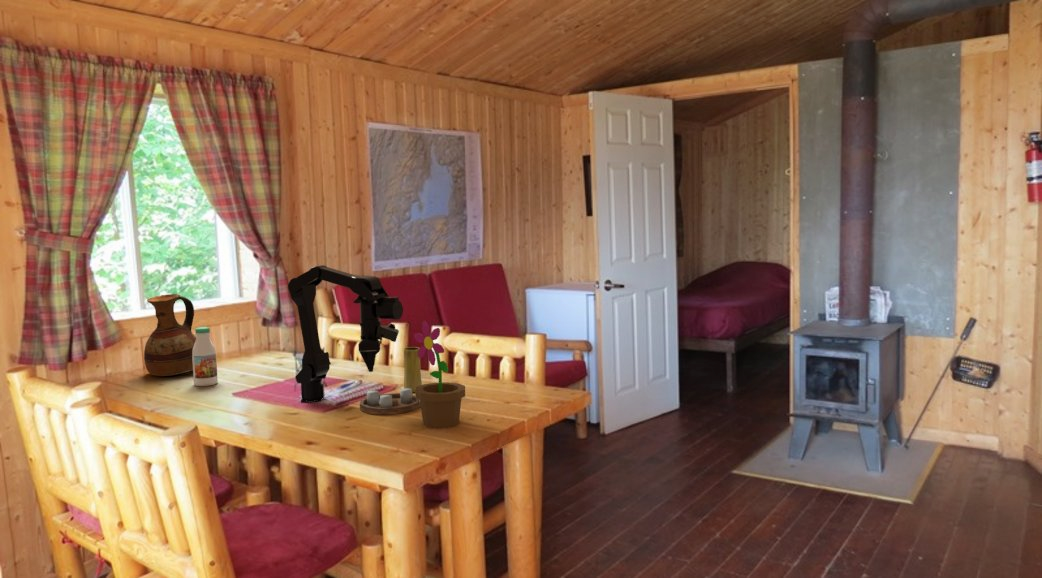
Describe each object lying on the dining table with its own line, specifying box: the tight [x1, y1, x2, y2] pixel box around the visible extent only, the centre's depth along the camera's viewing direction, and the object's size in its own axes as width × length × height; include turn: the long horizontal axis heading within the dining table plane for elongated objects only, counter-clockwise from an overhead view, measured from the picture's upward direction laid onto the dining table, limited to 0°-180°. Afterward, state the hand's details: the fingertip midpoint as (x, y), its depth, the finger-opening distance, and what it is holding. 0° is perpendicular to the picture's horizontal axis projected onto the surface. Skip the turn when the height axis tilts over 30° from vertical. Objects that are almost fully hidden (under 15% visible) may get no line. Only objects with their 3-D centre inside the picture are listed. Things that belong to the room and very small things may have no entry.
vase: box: [403, 346, 423, 394], centre depth 256 cm, size 6×6×14 cm
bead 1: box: [366, 390, 380, 406], centre depth 237 cm, size 4×4×4 cm
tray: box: [359, 392, 421, 416], centre depth 237 cm, size 18×18×2 cm
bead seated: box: [399, 387, 413, 404], centre depth 239 cm, size 4×4×4 cm
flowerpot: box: [413, 320, 466, 430], centre depth 217 cm, size 14×14×30 cm
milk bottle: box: [192, 326, 219, 387], centre depth 269 cm, size 8×8×20 cm
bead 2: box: [380, 395, 393, 408], centre depth 232 cm, size 4×4×4 cm
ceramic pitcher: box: [143, 293, 197, 377], centre depth 286 cm, size 20×20×30 cm
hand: (371, 368), depth 236 cm, fingers open, 9 cm apart
